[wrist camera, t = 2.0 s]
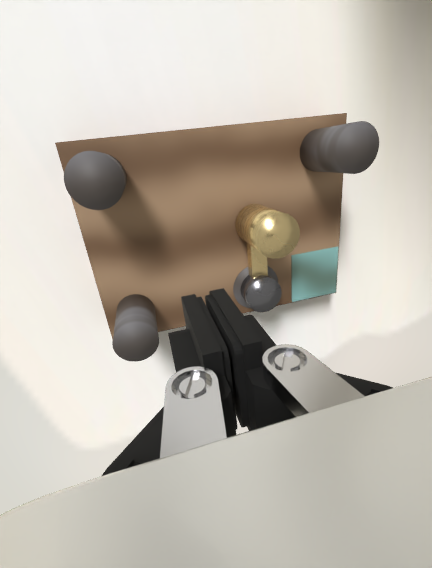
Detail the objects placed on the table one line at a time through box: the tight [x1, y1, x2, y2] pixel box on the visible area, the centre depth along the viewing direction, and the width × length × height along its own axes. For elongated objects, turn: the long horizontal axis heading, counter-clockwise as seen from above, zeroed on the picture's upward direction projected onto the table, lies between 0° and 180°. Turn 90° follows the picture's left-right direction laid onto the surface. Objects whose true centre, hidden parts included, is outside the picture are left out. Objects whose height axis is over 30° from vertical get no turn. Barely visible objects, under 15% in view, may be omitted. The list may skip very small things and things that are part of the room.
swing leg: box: [235, 204, 300, 312], centre depth 24 cm, size 9×3×5 cm, turn 7°
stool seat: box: [55, 113, 379, 361], centre depth 24 cm, size 16×22×8 cm
